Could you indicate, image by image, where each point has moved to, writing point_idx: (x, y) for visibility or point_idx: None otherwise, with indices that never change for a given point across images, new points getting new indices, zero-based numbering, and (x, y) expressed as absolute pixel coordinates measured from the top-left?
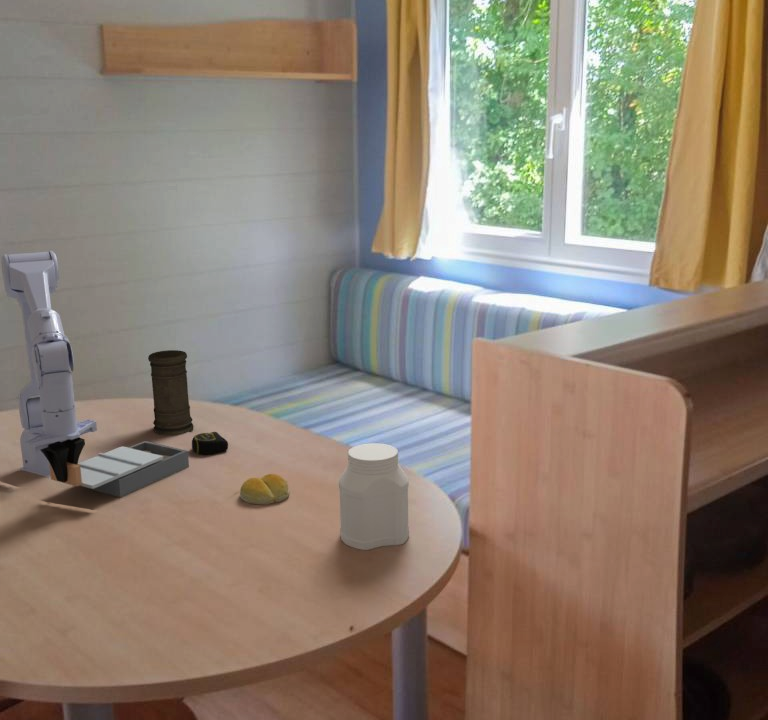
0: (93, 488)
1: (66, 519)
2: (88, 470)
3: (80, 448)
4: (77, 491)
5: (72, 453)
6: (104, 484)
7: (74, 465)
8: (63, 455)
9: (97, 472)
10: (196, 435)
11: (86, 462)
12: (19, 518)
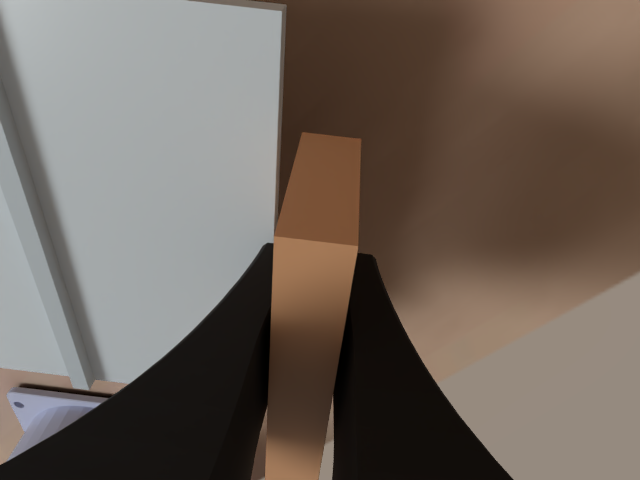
0: (279, 5)
1: (485, 60)
2: (88, 269)
3: (110, 440)
4: None
5: (232, 435)
6: None
7: (301, 290)
8: (437, 472)
9: (62, 192)
10: None
11: (25, 351)
12: (531, 283)
